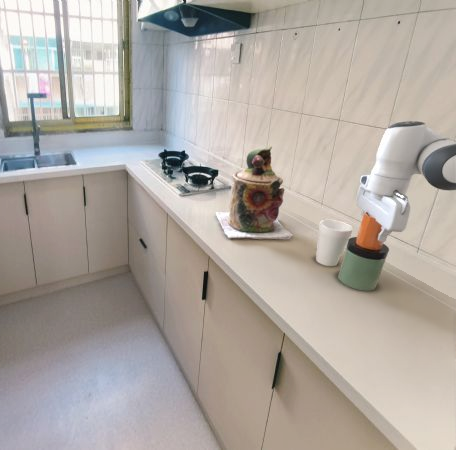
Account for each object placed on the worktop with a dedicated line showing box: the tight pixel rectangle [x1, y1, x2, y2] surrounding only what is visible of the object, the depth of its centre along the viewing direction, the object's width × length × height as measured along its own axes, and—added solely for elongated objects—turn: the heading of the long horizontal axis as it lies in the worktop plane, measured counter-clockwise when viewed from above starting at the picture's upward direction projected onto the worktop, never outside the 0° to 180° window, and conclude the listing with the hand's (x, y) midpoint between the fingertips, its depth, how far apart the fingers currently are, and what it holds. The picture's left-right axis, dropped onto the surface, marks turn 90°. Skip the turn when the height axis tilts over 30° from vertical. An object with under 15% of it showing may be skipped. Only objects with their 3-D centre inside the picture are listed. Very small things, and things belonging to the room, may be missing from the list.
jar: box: [337, 246, 387, 292], centre depth 98 cm, size 10×10×12 cm
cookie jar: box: [215, 145, 294, 240], centre depth 128 cm, size 25×25×32 cm
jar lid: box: [346, 236, 390, 259], centre depth 96 cm, size 10×10×2 cm
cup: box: [356, 211, 385, 250], centre depth 94 cm, size 6×6×9 cm
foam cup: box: [315, 218, 354, 267], centre depth 108 cm, size 10×9×13 cm
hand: (372, 233), depth 94 cm, fingers open, 8 cm apart
